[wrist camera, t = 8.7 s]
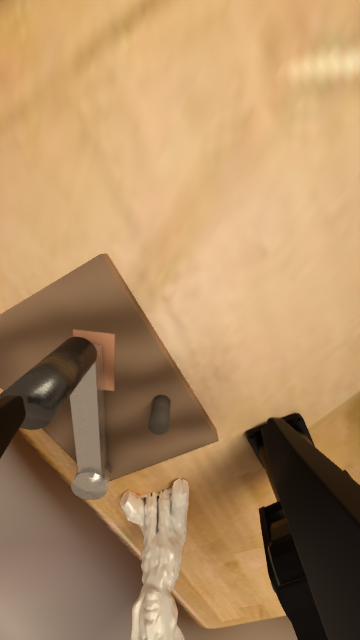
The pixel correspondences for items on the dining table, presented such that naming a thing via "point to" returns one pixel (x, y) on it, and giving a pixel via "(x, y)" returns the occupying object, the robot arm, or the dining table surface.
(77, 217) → the dining table surface
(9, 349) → the board
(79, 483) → the lever
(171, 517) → the sitting furry creature
